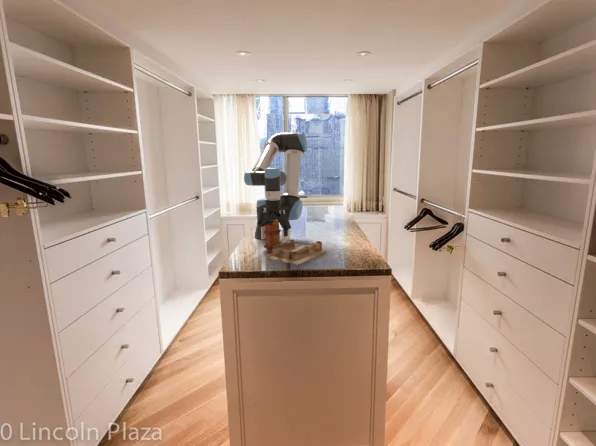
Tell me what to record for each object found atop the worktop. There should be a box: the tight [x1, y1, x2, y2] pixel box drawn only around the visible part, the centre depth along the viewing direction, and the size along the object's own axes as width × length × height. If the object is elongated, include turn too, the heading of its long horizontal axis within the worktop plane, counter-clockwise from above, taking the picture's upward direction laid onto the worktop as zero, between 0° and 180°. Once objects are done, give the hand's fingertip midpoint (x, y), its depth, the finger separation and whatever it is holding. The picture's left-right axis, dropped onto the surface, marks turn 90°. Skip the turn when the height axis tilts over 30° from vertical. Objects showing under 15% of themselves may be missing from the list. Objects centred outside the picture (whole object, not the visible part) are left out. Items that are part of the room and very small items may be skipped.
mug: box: [263, 220, 282, 254], centre depth 165 cm, size 15×8×15 cm, turn 168°
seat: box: [266, 239, 327, 266], centre depth 157 cm, size 18×24×5 cm
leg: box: [305, 240, 323, 254], centre depth 158 cm, size 11×3×4 cm, turn 140°
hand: (273, 240), depth 165 cm, fingers open, 13 cm apart
